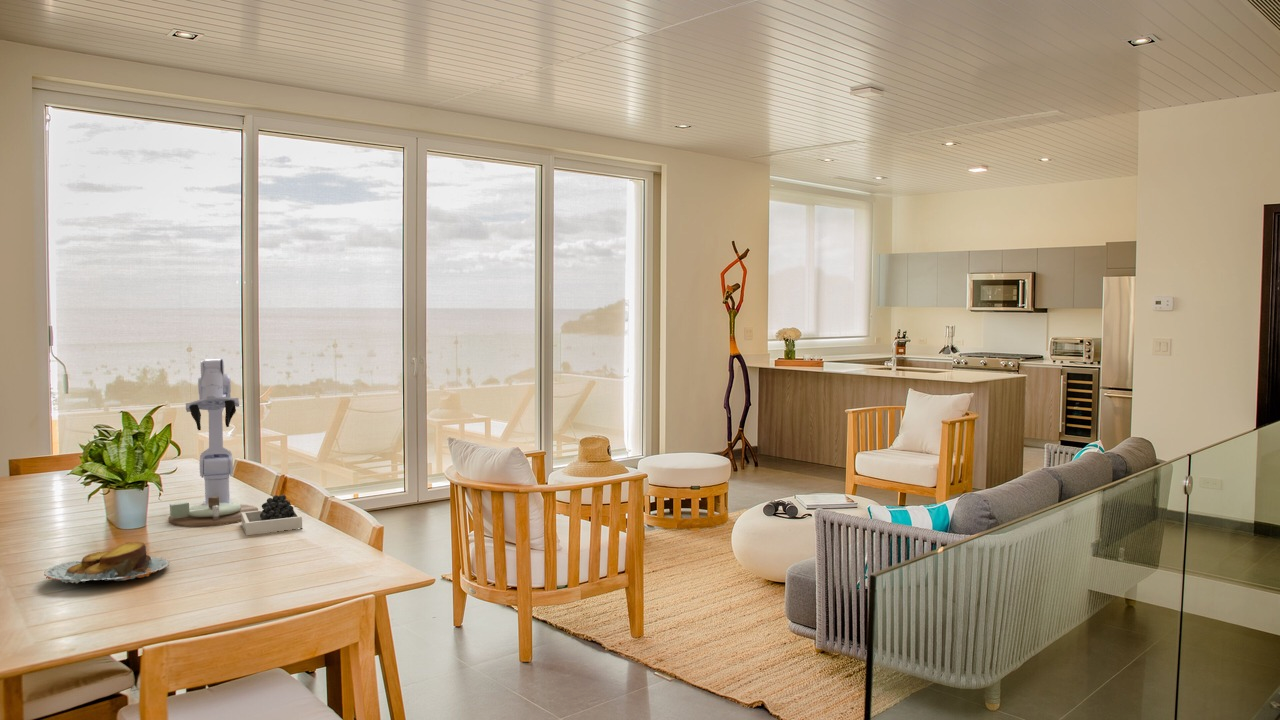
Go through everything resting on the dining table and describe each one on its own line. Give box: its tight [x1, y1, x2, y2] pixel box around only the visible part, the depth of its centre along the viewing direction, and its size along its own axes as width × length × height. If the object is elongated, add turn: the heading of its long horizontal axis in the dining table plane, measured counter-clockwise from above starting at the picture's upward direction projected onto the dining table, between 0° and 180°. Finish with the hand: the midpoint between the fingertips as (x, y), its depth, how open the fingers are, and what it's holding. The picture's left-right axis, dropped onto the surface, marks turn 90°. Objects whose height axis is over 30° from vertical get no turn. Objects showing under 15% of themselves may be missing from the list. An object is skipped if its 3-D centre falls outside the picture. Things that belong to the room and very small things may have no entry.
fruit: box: [260, 494, 294, 521], centre depth 259 cm, size 9×8×15 cm
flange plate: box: [169, 501, 242, 518], centre depth 270 cm, size 20×15×4 cm
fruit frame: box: [240, 506, 303, 536], centre depth 259 cm, size 15×15×4 cm
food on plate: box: [43, 541, 170, 584], centre depth 212 cm, size 26×26×7 cm
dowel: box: [212, 505, 220, 521], centre depth 263 cm, size 2×2×5 cm
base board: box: [168, 496, 259, 528], centre depth 271 cm, size 25×25×6 cm
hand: (213, 426), depth 262 cm, fingers open, 7 cm apart
